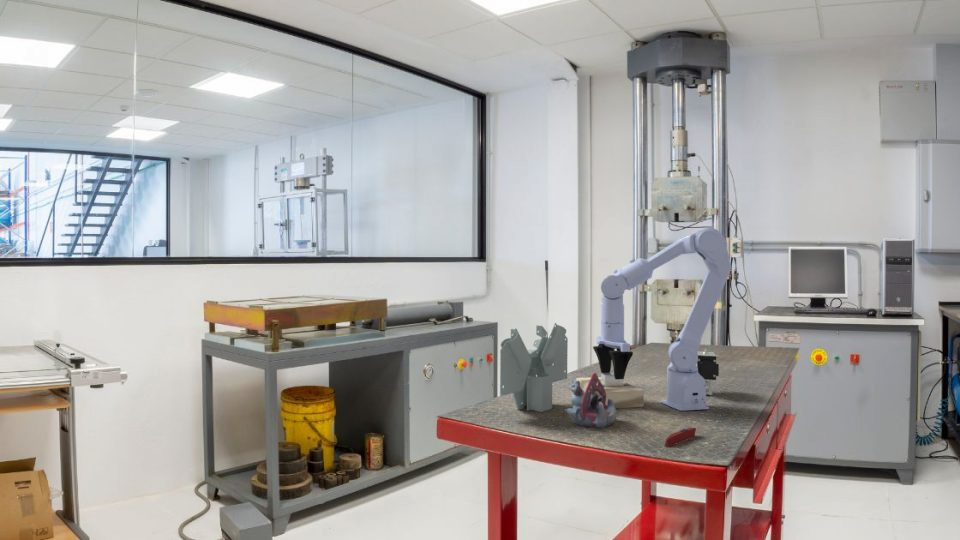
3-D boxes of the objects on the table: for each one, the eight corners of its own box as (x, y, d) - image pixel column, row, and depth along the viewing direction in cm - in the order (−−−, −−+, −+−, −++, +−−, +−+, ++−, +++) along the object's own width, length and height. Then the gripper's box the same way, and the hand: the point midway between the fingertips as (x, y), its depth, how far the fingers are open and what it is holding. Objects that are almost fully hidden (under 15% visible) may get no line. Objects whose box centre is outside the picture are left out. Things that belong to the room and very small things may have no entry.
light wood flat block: (643, 406, 150) (643, 390, 150) (606, 408, 147) (606, 392, 147) (610, 391, 167) (610, 376, 167) (576, 392, 165) (576, 378, 165)
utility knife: (692, 434, 126) (692, 425, 126) (697, 435, 125) (697, 426, 125) (662, 446, 118) (662, 436, 118) (667, 447, 117) (667, 437, 117)
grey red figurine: (610, 422, 126) (579, 372, 130) (573, 446, 132) (544, 397, 136) (633, 411, 135) (603, 365, 140) (597, 434, 141) (569, 388, 145)
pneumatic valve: (697, 397, 160) (697, 352, 159) (695, 388, 171) (695, 346, 171) (719, 399, 158) (720, 353, 158) (716, 390, 169) (716, 347, 169)
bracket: (554, 396, 161) (555, 320, 160) (578, 400, 156) (578, 322, 156) (487, 416, 140) (487, 328, 139) (511, 421, 135) (512, 331, 135)
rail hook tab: (623, 402, 155) (623, 374, 154) (604, 402, 154) (605, 375, 153) (619, 399, 157) (619, 372, 157) (600, 400, 156) (601, 373, 156)
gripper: (586, 320, 161) (585, 371, 161) (611, 326, 147) (610, 382, 147) (610, 319, 163) (610, 370, 163) (637, 325, 149) (637, 381, 149)
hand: (612, 376), depth 155 cm, fingers open, 7 cm apart
